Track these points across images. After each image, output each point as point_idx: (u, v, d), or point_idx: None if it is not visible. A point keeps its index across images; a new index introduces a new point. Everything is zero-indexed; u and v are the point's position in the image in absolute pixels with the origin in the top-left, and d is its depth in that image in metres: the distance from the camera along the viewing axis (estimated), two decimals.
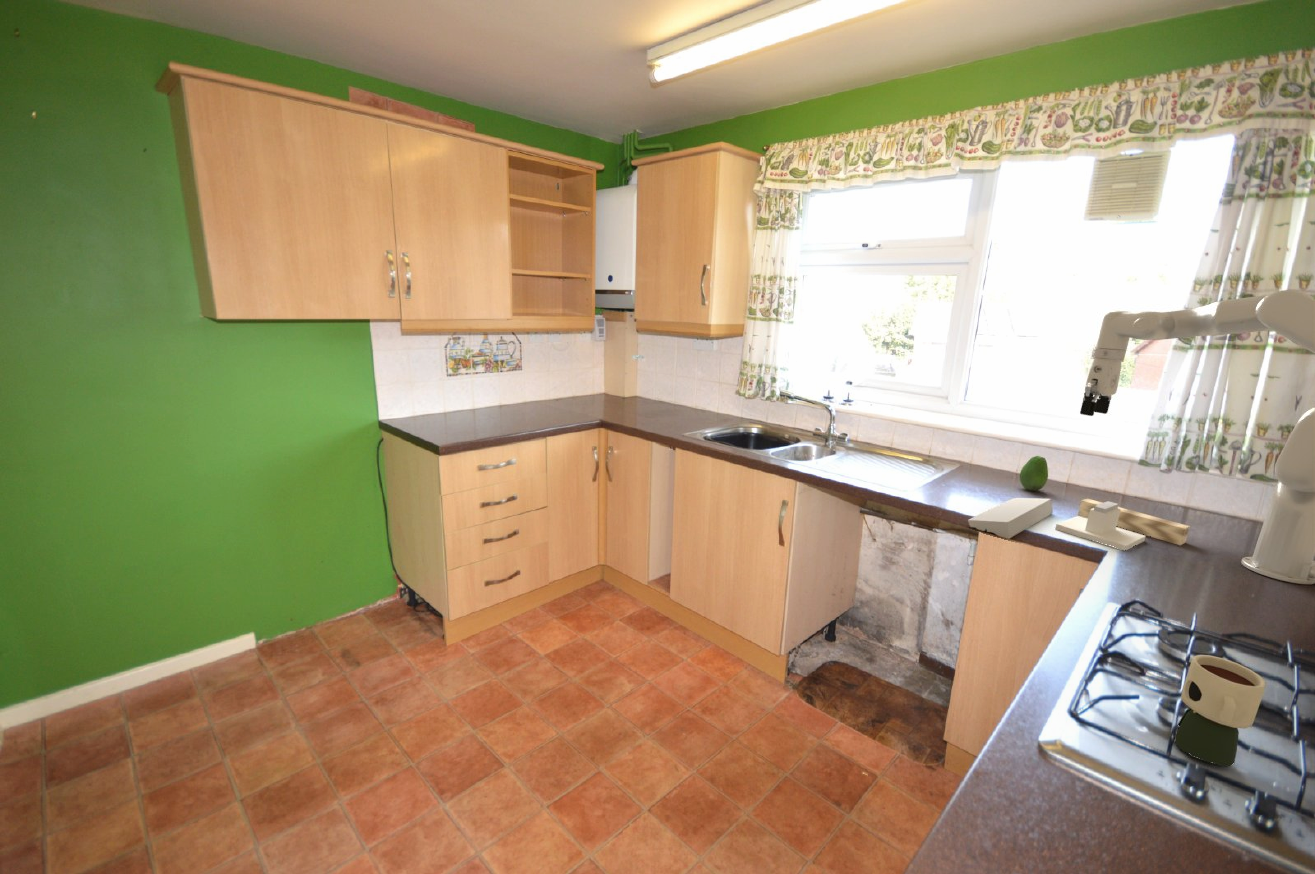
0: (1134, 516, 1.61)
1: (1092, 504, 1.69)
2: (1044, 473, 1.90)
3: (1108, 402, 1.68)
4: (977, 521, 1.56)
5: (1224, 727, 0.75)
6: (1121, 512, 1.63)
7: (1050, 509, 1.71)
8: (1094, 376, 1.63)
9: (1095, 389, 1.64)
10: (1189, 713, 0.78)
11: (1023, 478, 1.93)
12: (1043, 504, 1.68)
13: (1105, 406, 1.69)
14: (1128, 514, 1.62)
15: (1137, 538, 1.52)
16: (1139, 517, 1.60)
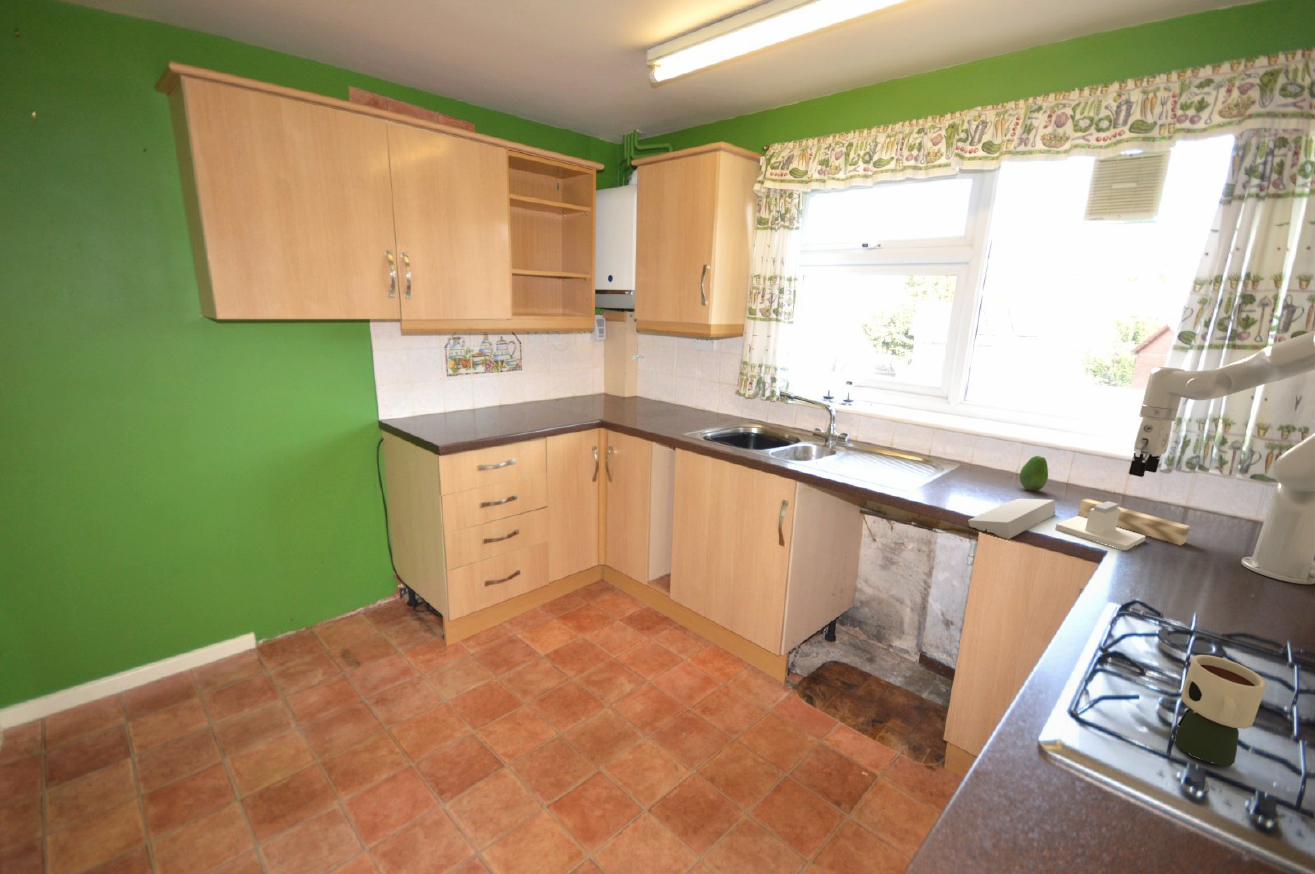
0: (1134, 516, 1.61)
1: (1092, 504, 1.69)
2: (1044, 473, 1.90)
3: (1157, 461, 1.61)
4: (977, 521, 1.56)
5: (1224, 727, 0.75)
6: (1121, 512, 1.63)
7: (1053, 510, 1.70)
8: (1144, 436, 1.55)
9: (1145, 449, 1.56)
10: (1189, 713, 0.78)
11: (1023, 478, 1.93)
12: (1045, 505, 1.67)
13: (1154, 465, 1.61)
14: (1128, 514, 1.62)
15: (1137, 538, 1.52)
16: (1139, 517, 1.60)
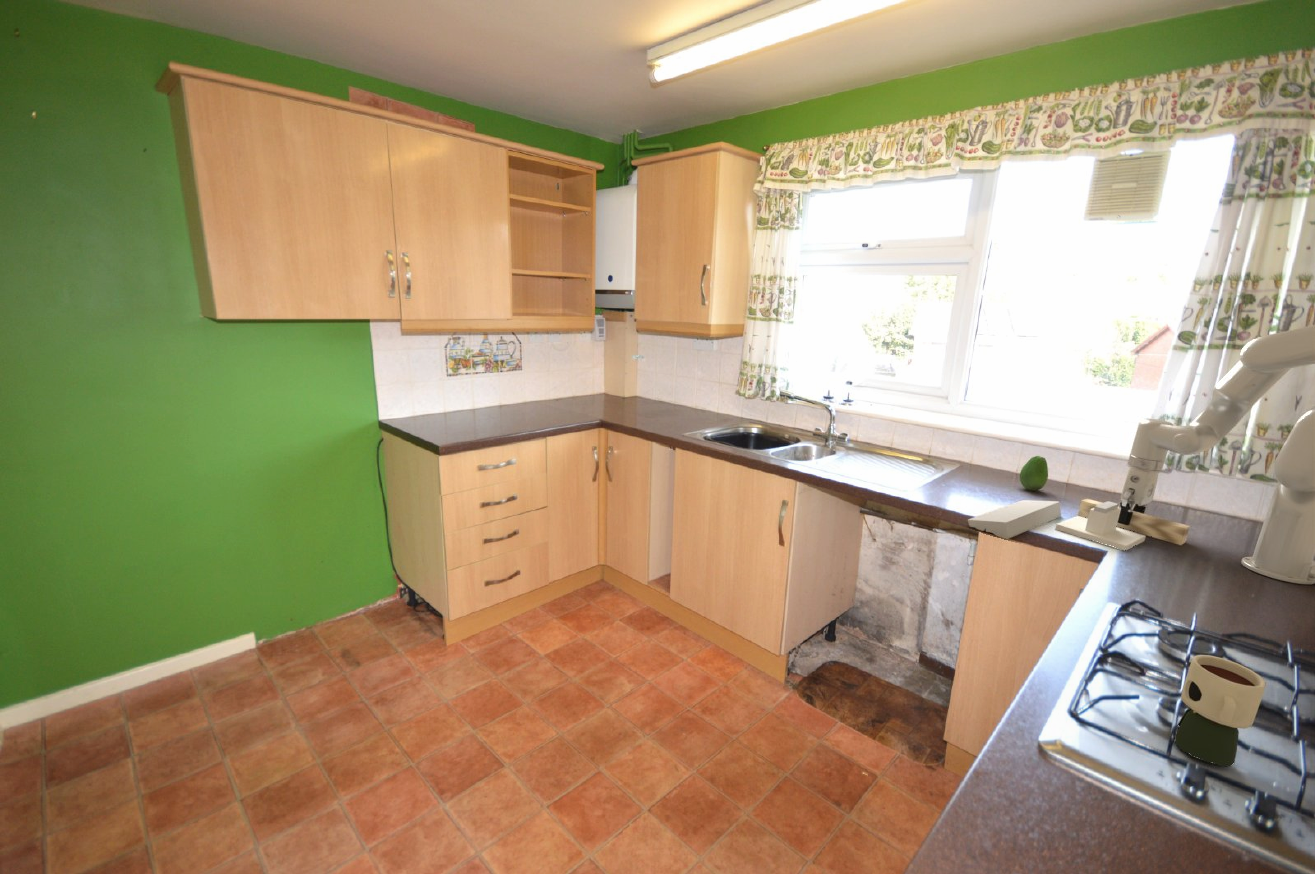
0: (1134, 516, 1.61)
1: (1092, 504, 1.69)
2: (1044, 473, 1.90)
3: (1144, 508, 1.64)
4: (976, 521, 1.56)
5: (1224, 727, 0.75)
6: None
7: (1058, 512, 1.69)
8: (1130, 486, 1.58)
9: (1131, 498, 1.60)
10: (1189, 713, 0.78)
11: (1023, 478, 1.93)
12: (1049, 506, 1.66)
13: (1140, 512, 1.65)
14: None
15: (1137, 538, 1.52)
16: (1139, 517, 1.60)
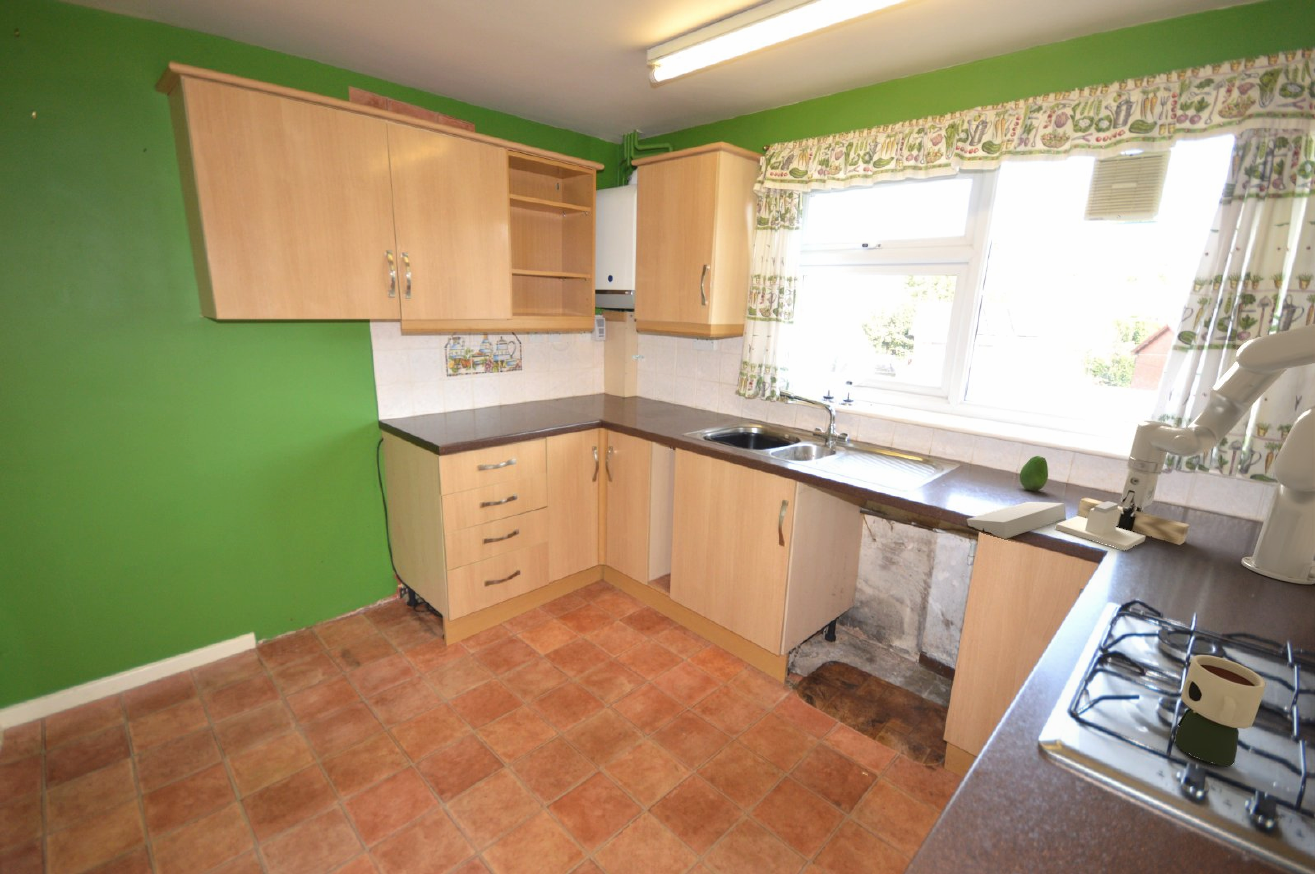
0: None
1: (1091, 503, 1.69)
2: (1044, 473, 1.90)
3: None
4: (975, 521, 1.57)
5: (1224, 727, 0.75)
6: (1120, 511, 1.63)
7: (1063, 514, 1.68)
8: (1130, 488, 1.59)
9: None
10: (1189, 713, 0.78)
11: (1023, 478, 1.93)
12: (1053, 508, 1.65)
13: None
14: None
15: (1137, 538, 1.52)
16: (1139, 516, 1.60)
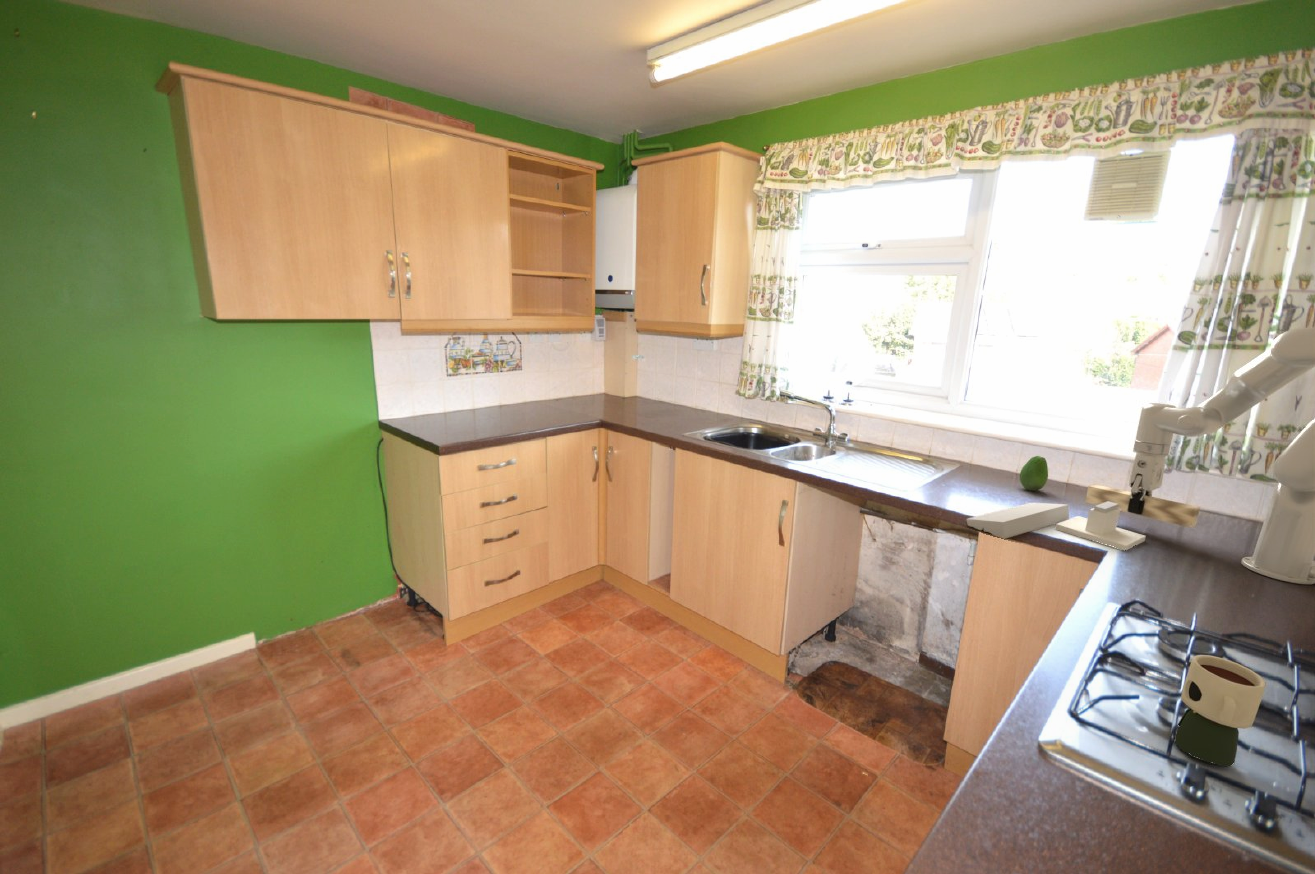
0: None
1: (1099, 489, 1.67)
2: (1044, 473, 1.90)
3: None
4: (975, 520, 1.57)
5: (1224, 727, 0.75)
6: (1129, 496, 1.61)
7: (1066, 515, 1.67)
8: (1138, 471, 1.57)
9: None
10: (1189, 713, 0.78)
11: (1023, 478, 1.93)
12: (1056, 509, 1.64)
13: None
14: None
15: (1137, 538, 1.52)
16: (1148, 500, 1.58)
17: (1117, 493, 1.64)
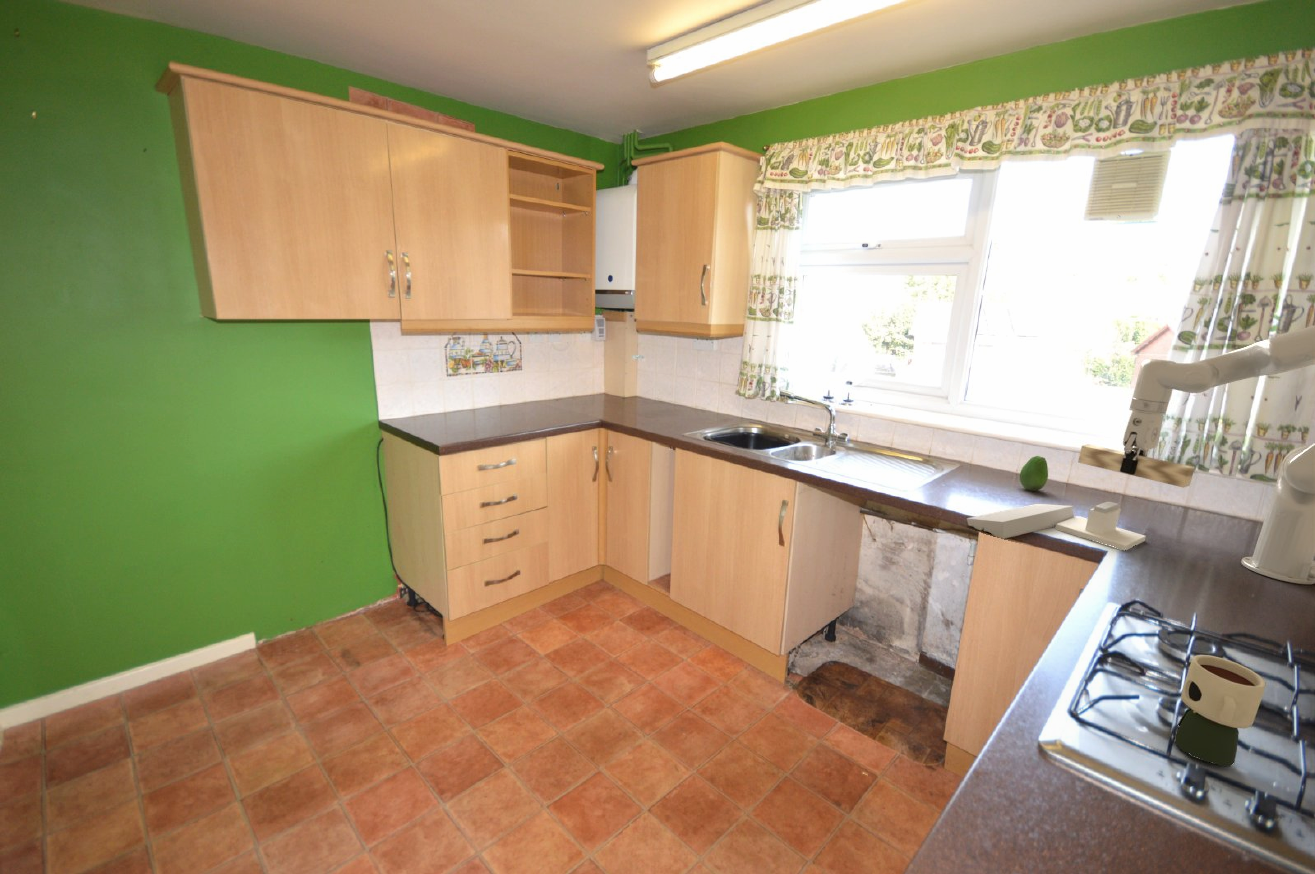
0: None
1: (1093, 449, 1.62)
2: (1044, 473, 1.90)
3: None
4: (975, 520, 1.57)
5: (1224, 727, 0.75)
6: (1123, 455, 1.56)
7: (1070, 516, 1.65)
8: (1132, 429, 1.52)
9: None
10: (1189, 713, 0.78)
11: (1023, 478, 1.93)
12: (1060, 510, 1.63)
13: None
14: None
15: (1137, 538, 1.52)
16: (1141, 459, 1.53)
17: (1110, 453, 1.59)
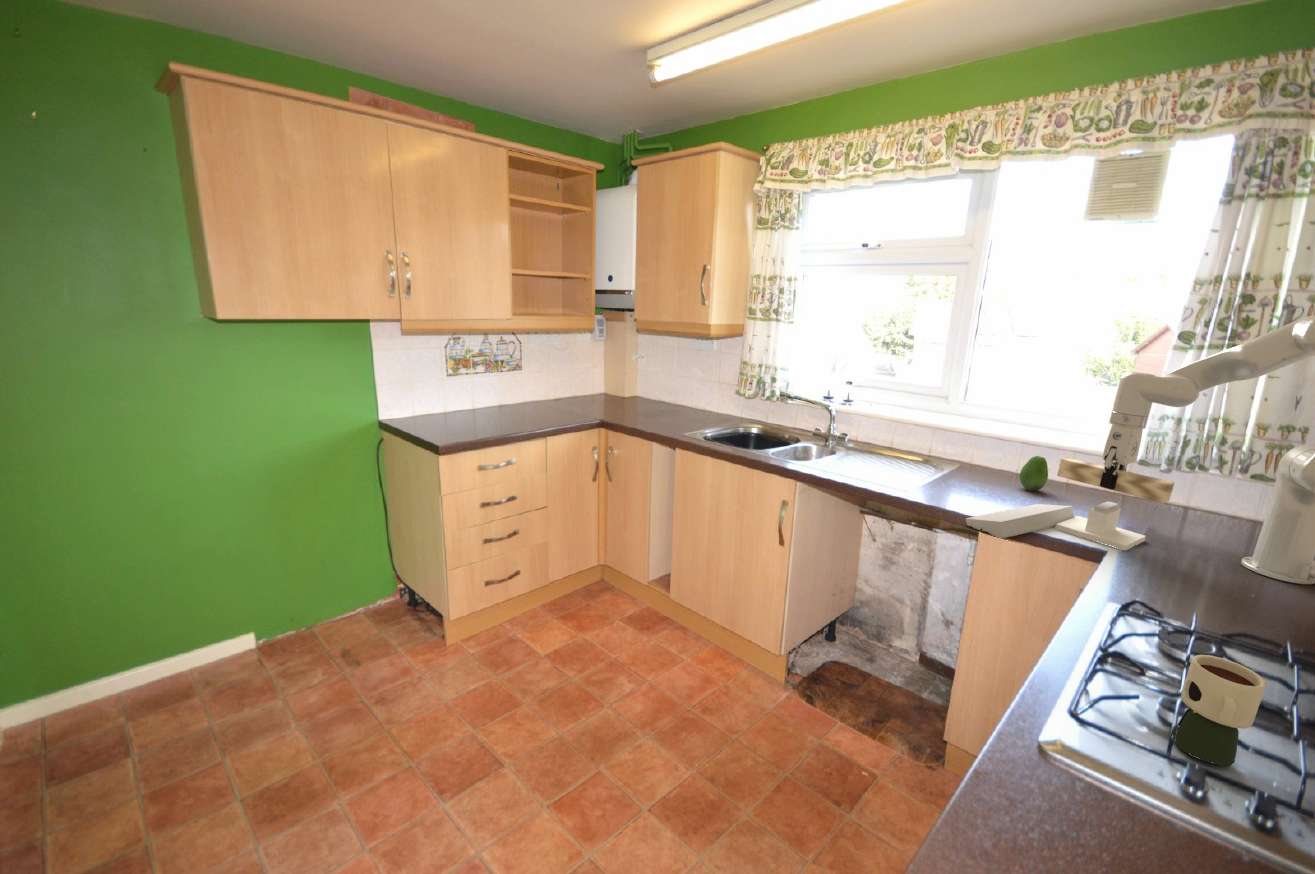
0: None
1: (1072, 462, 1.59)
2: (1044, 473, 1.90)
3: None
4: (973, 520, 1.57)
5: (1224, 727, 0.75)
6: (1102, 470, 1.53)
7: (1070, 517, 1.65)
8: (1112, 443, 1.49)
9: None
10: (1189, 713, 0.78)
11: (1023, 478, 1.93)
12: (1059, 510, 1.63)
13: None
14: None
15: (1137, 538, 1.52)
16: (1121, 474, 1.50)
17: (1090, 467, 1.56)
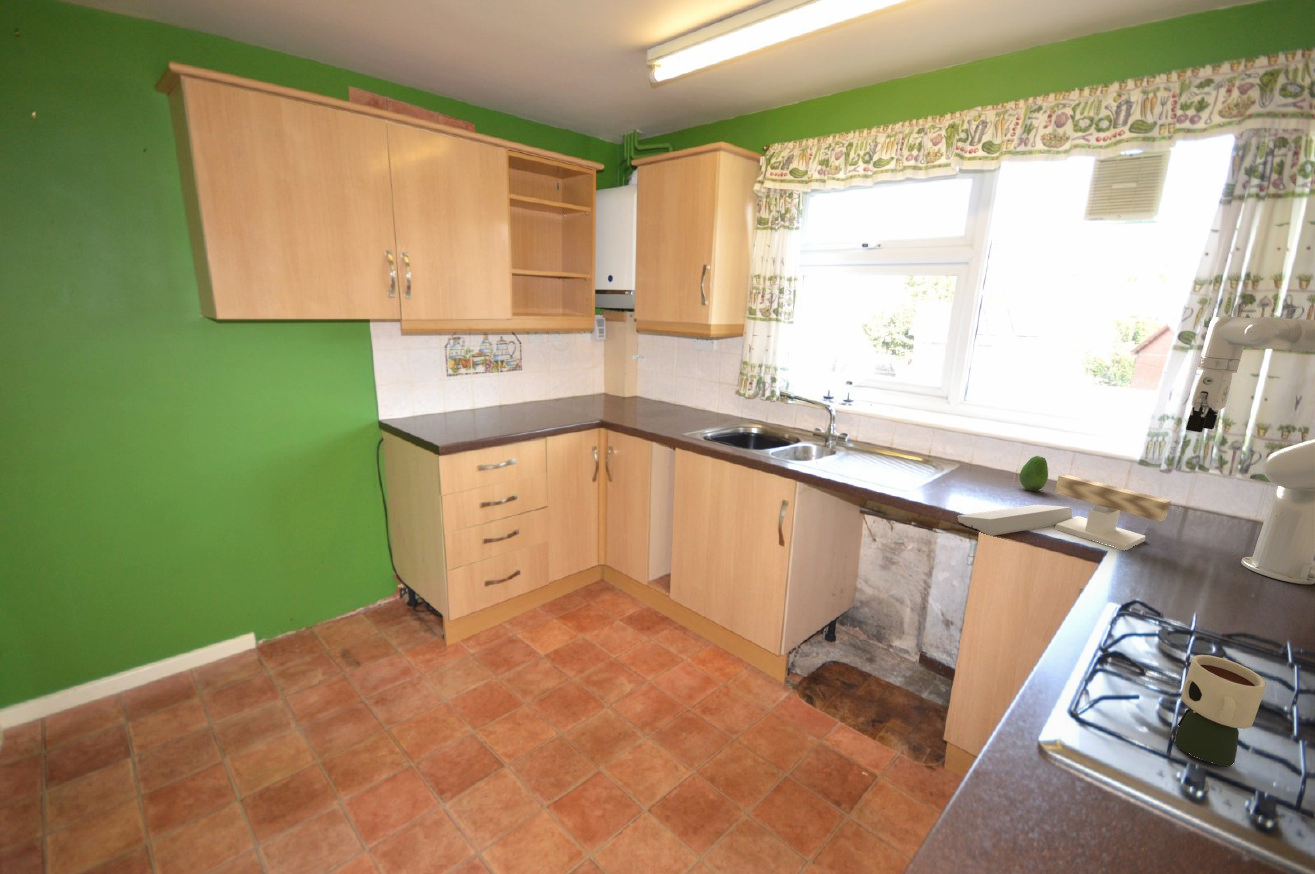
0: (1112, 491, 1.52)
1: (1069, 479, 1.60)
2: (1044, 473, 1.90)
3: (1215, 417, 1.53)
4: (965, 517, 1.59)
5: (1224, 727, 0.75)
6: (1099, 487, 1.54)
7: (1068, 517, 1.65)
8: (1203, 389, 1.47)
9: (1204, 403, 1.49)
10: (1189, 713, 0.78)
11: (1023, 478, 1.93)
12: (1056, 510, 1.63)
13: (1211, 421, 1.53)
14: (1106, 489, 1.53)
15: (1137, 538, 1.52)
16: (1118, 492, 1.51)
17: (1087, 484, 1.57)
